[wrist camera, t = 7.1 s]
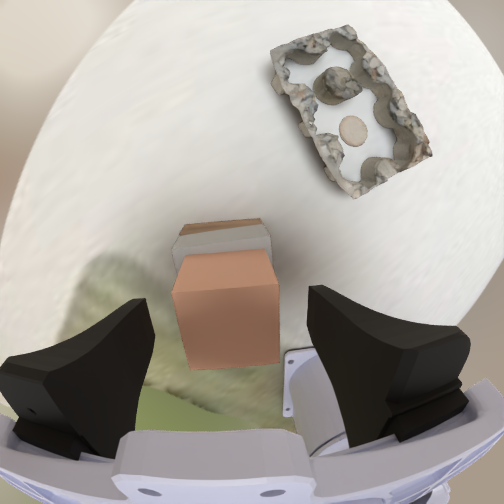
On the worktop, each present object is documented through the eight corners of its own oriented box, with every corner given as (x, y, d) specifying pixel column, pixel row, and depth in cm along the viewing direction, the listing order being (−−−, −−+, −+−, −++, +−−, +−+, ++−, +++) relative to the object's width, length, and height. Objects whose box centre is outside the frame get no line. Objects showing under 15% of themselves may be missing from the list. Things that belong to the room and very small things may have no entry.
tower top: (271, 298, 18) (277, 319, 15) (195, 308, 17) (191, 330, 15) (263, 223, 16) (270, 235, 14) (179, 235, 16) (171, 249, 13)
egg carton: (405, 158, 18) (439, 162, 14) (327, 200, 18) (353, 212, 15) (343, 35, 14) (367, 14, 10) (254, 65, 15) (262, 42, 11)
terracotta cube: (267, 315, 15) (279, 362, 11) (196, 321, 15) (189, 370, 11) (264, 248, 14) (278, 283, 10) (185, 255, 14) (171, 292, 10)
